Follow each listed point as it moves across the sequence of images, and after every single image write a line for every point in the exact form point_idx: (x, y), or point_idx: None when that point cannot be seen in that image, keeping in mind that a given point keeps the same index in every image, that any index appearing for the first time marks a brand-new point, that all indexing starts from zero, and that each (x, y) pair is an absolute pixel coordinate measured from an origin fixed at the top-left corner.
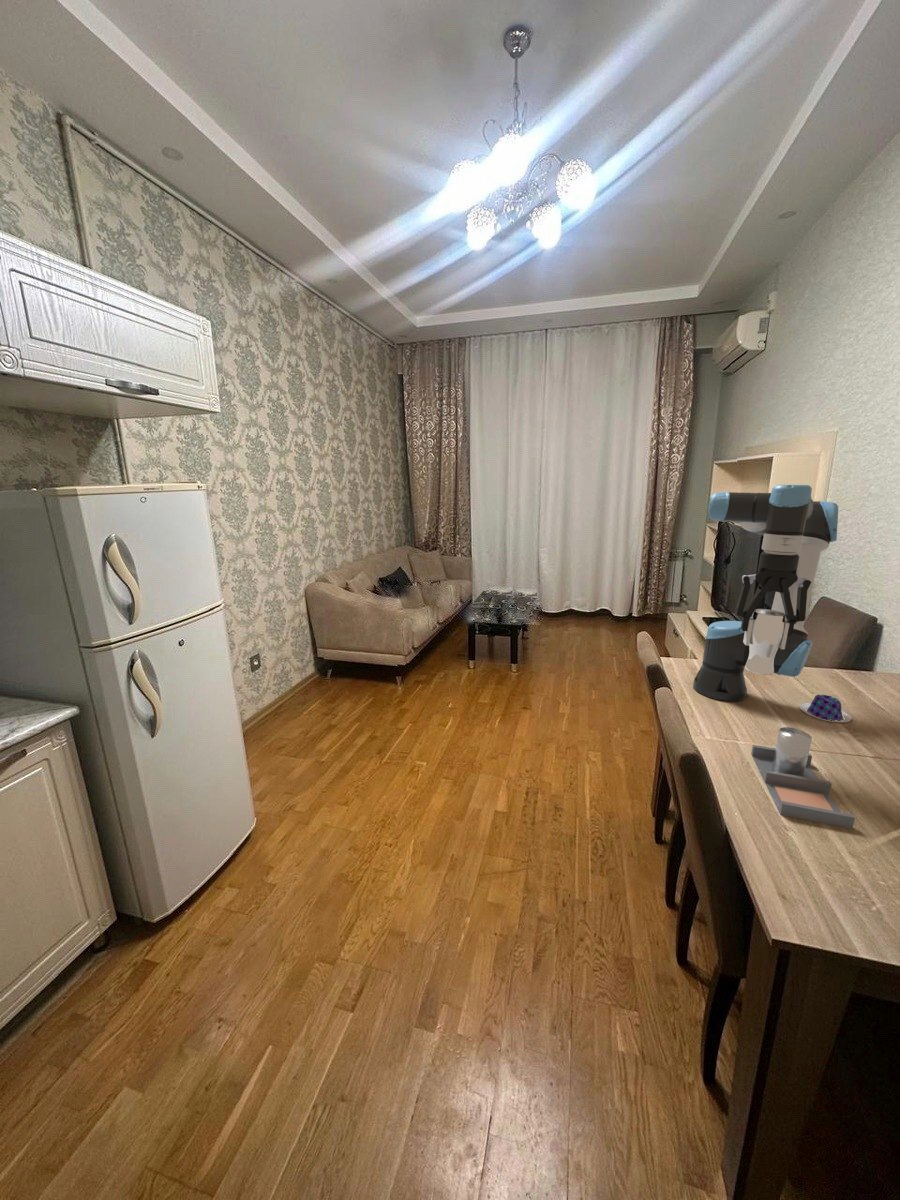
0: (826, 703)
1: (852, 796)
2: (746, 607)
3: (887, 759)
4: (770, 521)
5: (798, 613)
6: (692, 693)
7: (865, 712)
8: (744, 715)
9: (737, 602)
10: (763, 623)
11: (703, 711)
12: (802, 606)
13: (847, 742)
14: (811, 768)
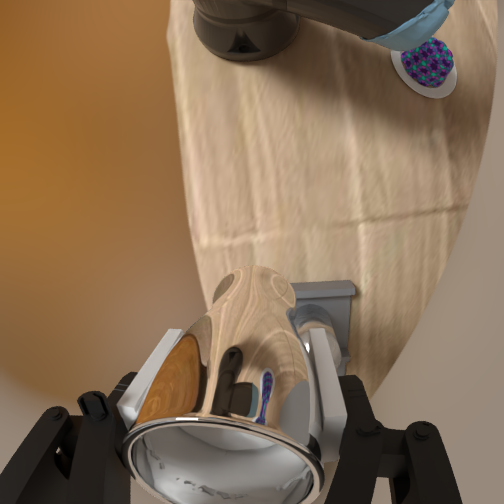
0: (433, 70)
1: (376, 336)
2: (76, 447)
3: (464, 209)
4: None
5: (417, 459)
6: (192, 53)
7: (474, 51)
8: (284, 113)
9: (23, 453)
10: (199, 478)
11: (204, 129)
12: None
13: (434, 168)
14: (349, 296)
